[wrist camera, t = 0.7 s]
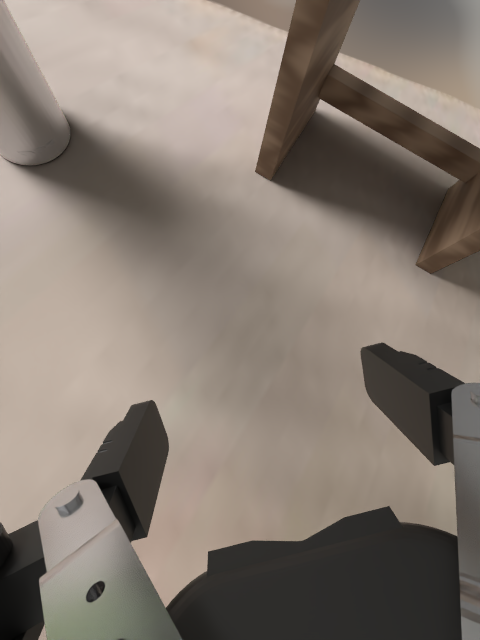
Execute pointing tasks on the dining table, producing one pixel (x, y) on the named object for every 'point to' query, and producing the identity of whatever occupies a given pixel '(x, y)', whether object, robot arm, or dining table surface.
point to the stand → (369, 124)
